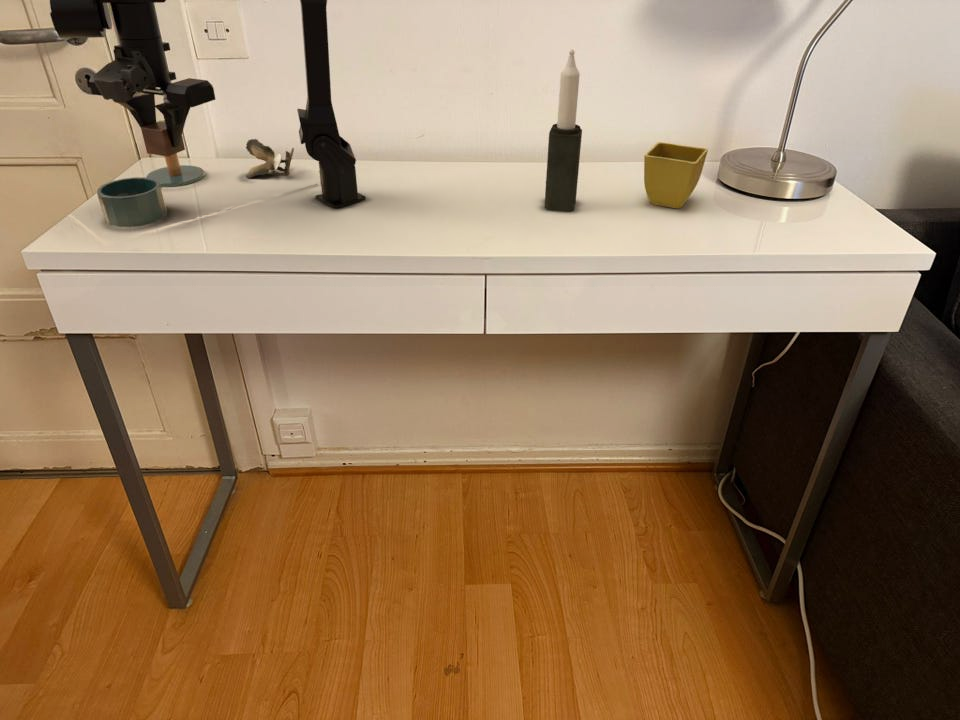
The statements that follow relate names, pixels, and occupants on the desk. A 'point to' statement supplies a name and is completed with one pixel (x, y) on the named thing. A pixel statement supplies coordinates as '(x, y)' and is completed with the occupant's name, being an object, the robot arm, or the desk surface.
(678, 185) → the flower pot
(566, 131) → the candle
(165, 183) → the lid
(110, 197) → the pot
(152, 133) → the block
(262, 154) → the eagle figurine
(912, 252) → the desk surface
